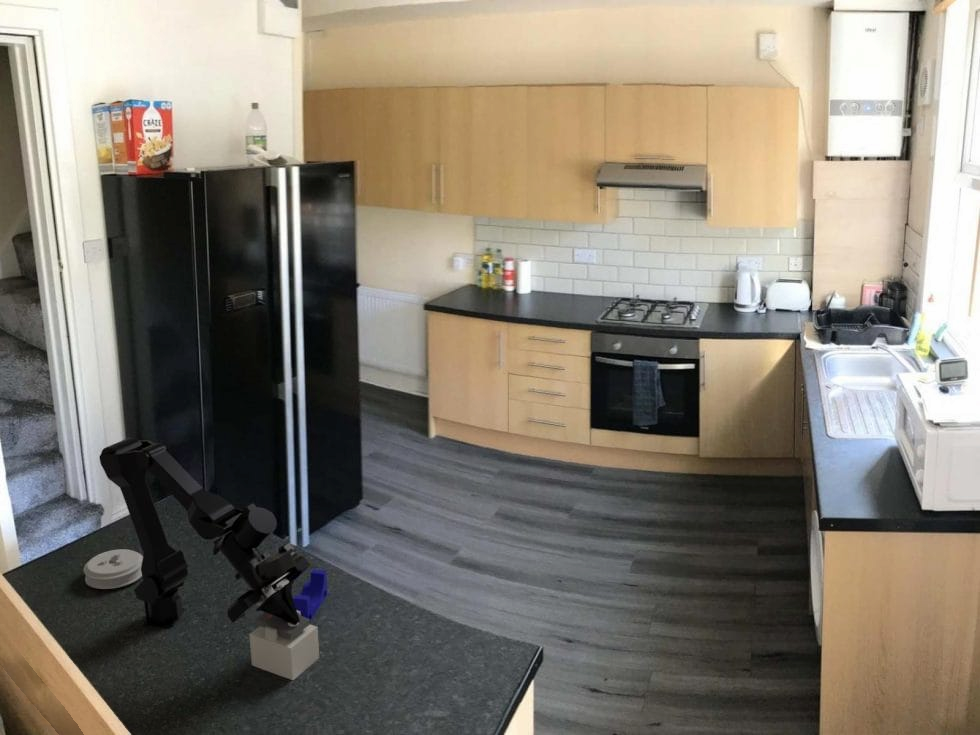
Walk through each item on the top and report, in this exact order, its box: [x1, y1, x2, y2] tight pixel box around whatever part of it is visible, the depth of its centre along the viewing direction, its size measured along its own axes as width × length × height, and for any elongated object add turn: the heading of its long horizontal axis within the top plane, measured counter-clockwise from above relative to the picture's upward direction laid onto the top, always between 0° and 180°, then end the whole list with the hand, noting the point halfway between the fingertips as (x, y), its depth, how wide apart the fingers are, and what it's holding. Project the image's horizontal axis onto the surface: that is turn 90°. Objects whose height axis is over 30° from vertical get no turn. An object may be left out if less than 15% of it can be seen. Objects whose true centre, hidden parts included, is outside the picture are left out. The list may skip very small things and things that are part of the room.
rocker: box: [255, 612, 311, 639], centre depth 178 cm, size 8×6×1 cm, turn 63°
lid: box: [83, 548, 143, 590], centre depth 210 cm, size 13×13×5 cm
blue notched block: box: [292, 568, 328, 622], centre depth 199 cm, size 12×4×6 cm, turn 170°
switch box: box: [248, 610, 320, 681], centre depth 180 cm, size 10×8×9 cm
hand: (297, 623), depth 177 cm, fingers closed, pressing on rocker
